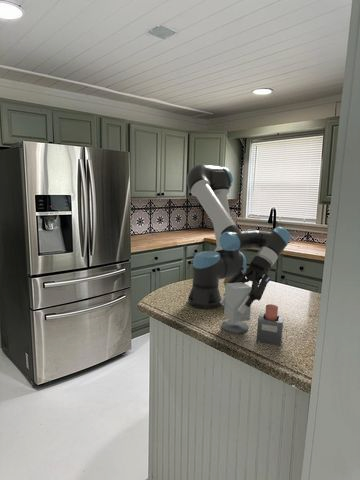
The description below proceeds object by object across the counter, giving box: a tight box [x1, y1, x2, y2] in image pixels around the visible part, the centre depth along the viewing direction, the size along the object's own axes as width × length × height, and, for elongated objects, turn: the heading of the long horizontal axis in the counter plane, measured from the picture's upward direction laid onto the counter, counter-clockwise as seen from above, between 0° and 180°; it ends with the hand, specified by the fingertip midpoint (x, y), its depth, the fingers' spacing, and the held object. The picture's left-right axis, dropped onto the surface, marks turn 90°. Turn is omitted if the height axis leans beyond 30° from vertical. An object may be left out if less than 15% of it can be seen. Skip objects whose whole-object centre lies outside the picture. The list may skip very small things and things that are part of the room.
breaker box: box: [256, 311, 285, 346], centre depth 112 cm, size 8×7×8 cm
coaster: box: [221, 319, 249, 335], centre depth 121 cm, size 10×10×1 cm
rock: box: [223, 277, 233, 285], centre depth 174 cm, size 11×9×10 cm
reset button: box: [264, 303, 279, 321], centre depth 111 cm, size 4×4×7 cm
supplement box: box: [223, 282, 252, 322], centre depth 119 cm, size 7×7×13 cm
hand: (230, 308), depth 117 cm, fingers closed on supplement box, 9 cm apart
